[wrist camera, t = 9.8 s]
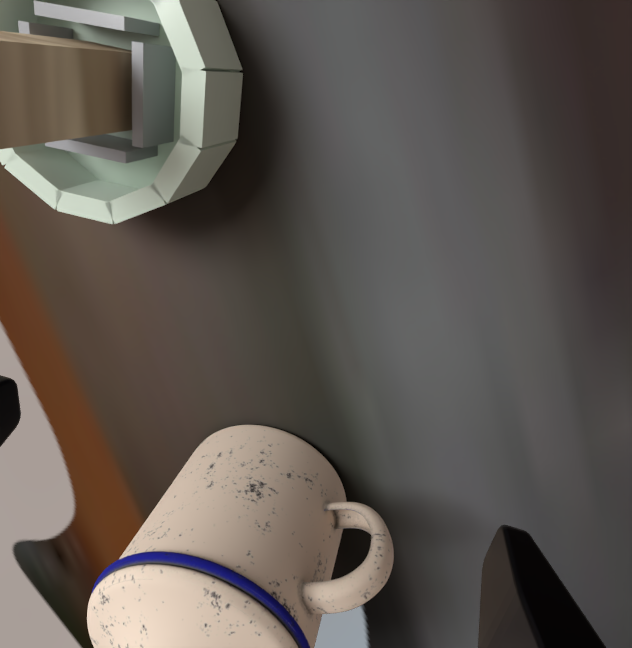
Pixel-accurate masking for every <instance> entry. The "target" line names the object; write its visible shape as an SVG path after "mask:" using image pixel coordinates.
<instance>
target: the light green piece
mask: <svg viewBox="0 0 632 648" xmlns="http://www.w3.org/2000/svg"><path fill="white" fill-rule="evenodd" d="M0 31H6V32H15V33H23V34H32V35H41V36H49V37H58V38H67V39H75V40H84V41H91V42H95V43H100V44H104V45H109V46H113V47H118V48H123V49H127V50H132V130H129V131H123V132H116V133H109V134H102V135H95V136H88V137H82V138H75V139H68V140H61V141H54V142H47V143H40V144H34V145H27V146H20V147H13V148H6V149H0V162H1V164H2V165H6V166H5V169H7V170H8V171H9V172H10V173H11V174H13V175H14V176H15V177H16V178H17V179H19V180H20V181H21V182H22V183H23V184H24V185H26V186H27V187H28V188H29V189H30V190H32V191H33V192H34V193H35V194H36V195H38V196H39V197H40V198H41V199H42V200H44V201H45V202H46V203H47V204H48V205H50V206H51V207H52V208H53V209H54V210H55V209H57V211H59V212H64V213H68V214H72V215H76V216H80V217H85V218H89V219H93V220H97V221H101V222H106V223H110V224H114V223H115V224H117V223H119V222H122V221H124V220H127V219H130V218H132V217H135V216H137V215H140V214H143V213H145V212H148V211H150V210H153V209H156V208H158V207H161V206H164V205H166V204H168V203H171V202H173V201H176V200H178V199H180V198H183V197H185V196H187V195H190V194H192V193H194V192H197V191H199V190H201V189H204V188H205V187H206V186H207V185H208V183H209V182H210V180H211V179H212V177H213V176H214V174H215V173H216V171H217V170H218V168H219V167H220V165H221V164H222V163H223V161H224V160H225V158H226V157H227V155H228V154H229V152H230V151H231V149H232V148H233V146H234V145H235V143H236V142H237V141H236V140H235V139H238V129H239V117H240V105H241V93H242V81H243V73H240V72H239V71H241V70H243V69H242V67H241V64H240V61H239V59H238V56H237V53H236V51H235V48H234V45H233V43H232V40H231V37H230V35H229V32H228V29H227V27H226V24H225V21H224V19H223V16H222V13H221V11H220V8H219V5H218V3H217V1H215V0H0Z"/></svg>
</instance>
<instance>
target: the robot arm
mask: <svg viewBox="0 0 632 648" xmlns="http://www.w3.org/2000/svg"><path fill="white" fill-rule="evenodd" d="M20 415H21V412H20V404H19V396H18V389H17V384H16V383H15V381H14V380H12V379H11V378H7V377H4V376H0V446H1V445H2V444H3V443H4V442H5V440H6V439H7V438H8V437H9V435H10V434H11V433H12V432H13V431H14V429H15V428H16V426H17V425H18V423H19V420H20ZM478 648H606V646H605V645H604V643H603V642H602V641H601V639H600V638H599V636H598V635H597V633H596V632H595V630H594V629H593V627H592V626H591V624H590V623H589V621H588V620H587V618H586V617H585V615H584V614H583V612H582V611H581V610H580V608H579V607H578V605H577V604H576V602H575V601H574V599H573V598H572V596H571V595H570V593H569V592H568V590H567V589H566V587H565V586H564V584H563V583H562V581H561V580H560V579H559V577H558V576H557V574H556V573H555V571H554V570H553V568H552V567H551V565H550V564H549V562H548V561H547V559H546V558H545V556H544V555H543V553H542V552H541V550H540V549H539V547H538V546H537V545H536V543H535V542H534V540H533V539H532V537H531V536H530V534H529V533H527V532H526V531H524V530H521V529H518V528H514V527H511V526H508V525H502V526H500V527H499V529H498V530H497V532H496V534H495V537H494V539H493V541H492V543H491V545H490V548H489V550H488V552H487V554H486V556H485V559H484V563H483V569H482V583H481V601H480V620H479V639H478Z"/></svg>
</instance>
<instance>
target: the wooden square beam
mask: <svg viewBox="0 0 632 648" xmlns="http://www.w3.org/2000/svg"><path fill="white" fill-rule="evenodd" d="M129 130H132V50H127V49H123V48H118V47H113V46H109V45H104V44H100V43H95V42H91V41H84V40H75V39H67V38H58V37H49V36H41V35H32V34H23V33H15V32H6V31H0V149H6V148H13V147H20V146H27V145H34V144H40V143H47V142H54V141H61V140H68V139H75V138H82V137H88V136H95V135H102V134H109V133H116V132H123V131H129Z"/></svg>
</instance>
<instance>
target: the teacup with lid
mask: <svg viewBox="0 0 632 648" xmlns="http://www.w3.org/2000/svg"><path fill="white" fill-rule="evenodd" d="M344 528H355V529H361V530H364V531H366V532H368V533H369V534H371V546H370V550H369V553H368V555H367V557H366V559H365V560H364V562H363V563H362V564H361V565H360V566H359V567H357V568H356V569H355V570H354V571H352V572H351V573H349V574H347V575H346V576H343V577H341V578H338V579H334V580H331V577H332V572H333V568H334V564H335V560H336V556H337V552H338V548H339V544H340V540H341V536H342V532H343V529H344ZM393 560H394V549H393V543H392V539H391V536H390V533H389V531H388V529H387V526H386V525H385V523H384V521H383V519H382V518H381V517H380V515H379V514H378V513H377V512H376V511H375V510H373V509H372V508H371V507H369V506H367V505H364V504H361V503H357V502H347V500H346V495H345V491H344V488H343V485H342V482H341V480H340V478H339V476H338V474H337V473H336V471H335V470H334V468H333V467H332V465H331V464H330V463H329V462H328V460H327V459H326V458H325V457H324V456H323V455H322V454H321V453H320V452H318V451H317V450H316V449H315V448H314V447H312V446H311V445H310V444H308V443H307V442H305V441H304V440H302V439H300V438H298V437H296V436H295V435H292V434H290V433H288V432H285V431H282V430H280V429H276V428H272V427H268V426H262V425H238V426H232V427H228V428H225V429H222V430H220V431H218V432H216V433H214V434H212V435H210V436H209V437H208V438H206V439H205V440H204V441H203V442H202V443H201V444H200V445H199V446H198V447H197V449H196V450H195V451H194V453H193V454H192V456H191V457H190V459H189V460H188V461H187V463H186V464H185V466H184V467H183V469H182V470H181V471H180V473H179V474H178V476H177V477H176V479H175V480H174V481H173V483H172V484H171V486H170V487H169V489H168V490H167V491H166V493H165V494H164V496H163V497H162V499H161V500H160V501H159V503H158V504H157V506H156V507H155V508H154V510H153V511H152V513H151V514H150V516H149V517H148V518H147V520H146V521H145V523H144V524H143V526H142V527H141V528H140V530H139V531H138V533H137V534H136V536H135V537H134V538H133V540H132V541H131V543H130V544H129V546H128V547H127V548H126V550H125V551H124V553H123V554H122V556H121V557H120V558H119V560H117V561H116V562H114V563H112V564H111V565H109V566H108V567H107V568H106V569H105V570H104V571H103V572H102V573H101V575H100V576H99V577H98V579H97V581H96V583H95V585H94V587H93V590H92V595H91V597H90V600H89V604H88V611H87V624H88V631H89V635H90V638H91V641H92V644H93V646H94V648H314V646H315V642H316V637H317V633H318V629H319V625H320V621H321V617H322V614H328V613H329V614H330V613H338V612H344V611H348V610H351V609H354V608H356V607H359V606H361V605H362V604H364V603H366V602H367V601H369V600H370V599H371V598H373V597H374V596H375V595H376V594H377V593H378V592H379V591H380V590H381V589H382V588H383V587H384V585H385V583H386V582H387V580H388V578H389V576H390V573H391V570H392V566H393Z"/></svg>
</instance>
